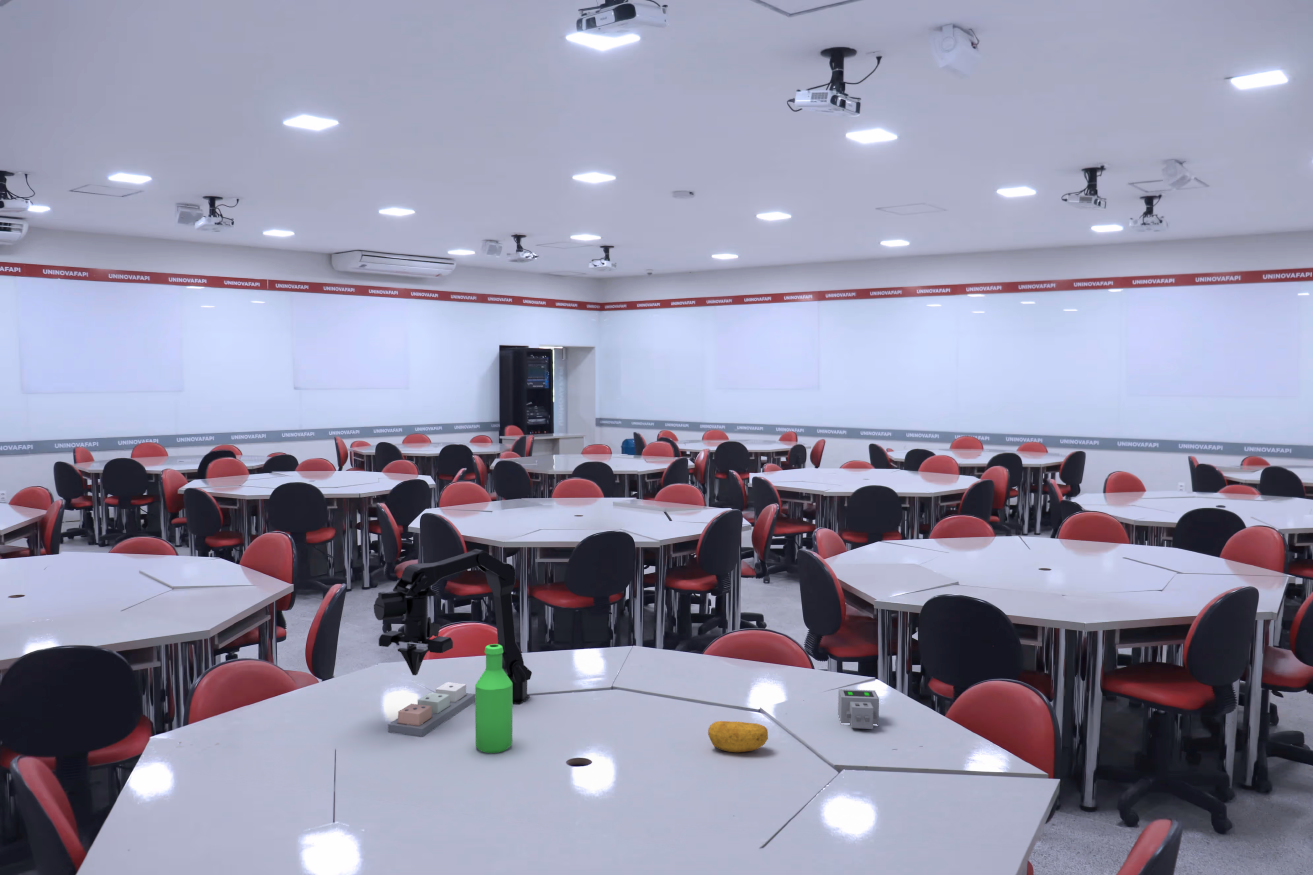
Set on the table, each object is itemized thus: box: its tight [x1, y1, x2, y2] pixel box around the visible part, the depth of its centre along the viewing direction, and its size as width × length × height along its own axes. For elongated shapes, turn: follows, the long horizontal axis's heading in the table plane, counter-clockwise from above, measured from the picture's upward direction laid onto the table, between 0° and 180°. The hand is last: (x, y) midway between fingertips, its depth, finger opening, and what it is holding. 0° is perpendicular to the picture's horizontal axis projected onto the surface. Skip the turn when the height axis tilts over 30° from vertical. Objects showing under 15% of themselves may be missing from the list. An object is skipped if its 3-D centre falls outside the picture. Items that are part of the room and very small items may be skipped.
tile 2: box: [417, 692, 450, 714], centre depth 229 cm, size 6×6×3 cm
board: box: [387, 692, 475, 737], centre depth 229 cm, size 10×27×2 cm, turn 163°
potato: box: [707, 720, 769, 753], centre depth 208 cm, size 7×14×7 cm, turn 81°
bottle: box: [474, 643, 514, 754], centre depth 208 cm, size 9×9×25 cm
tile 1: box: [435, 681, 467, 703], centre depth 238 cm, size 6×6×3 cm
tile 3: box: [397, 703, 432, 726], centre depth 220 cm, size 6×6×3 cm
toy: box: [837, 688, 880, 730], centre depth 227 cm, size 10×8×15 cm
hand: (415, 674), depth 221 cm, fingers closed
